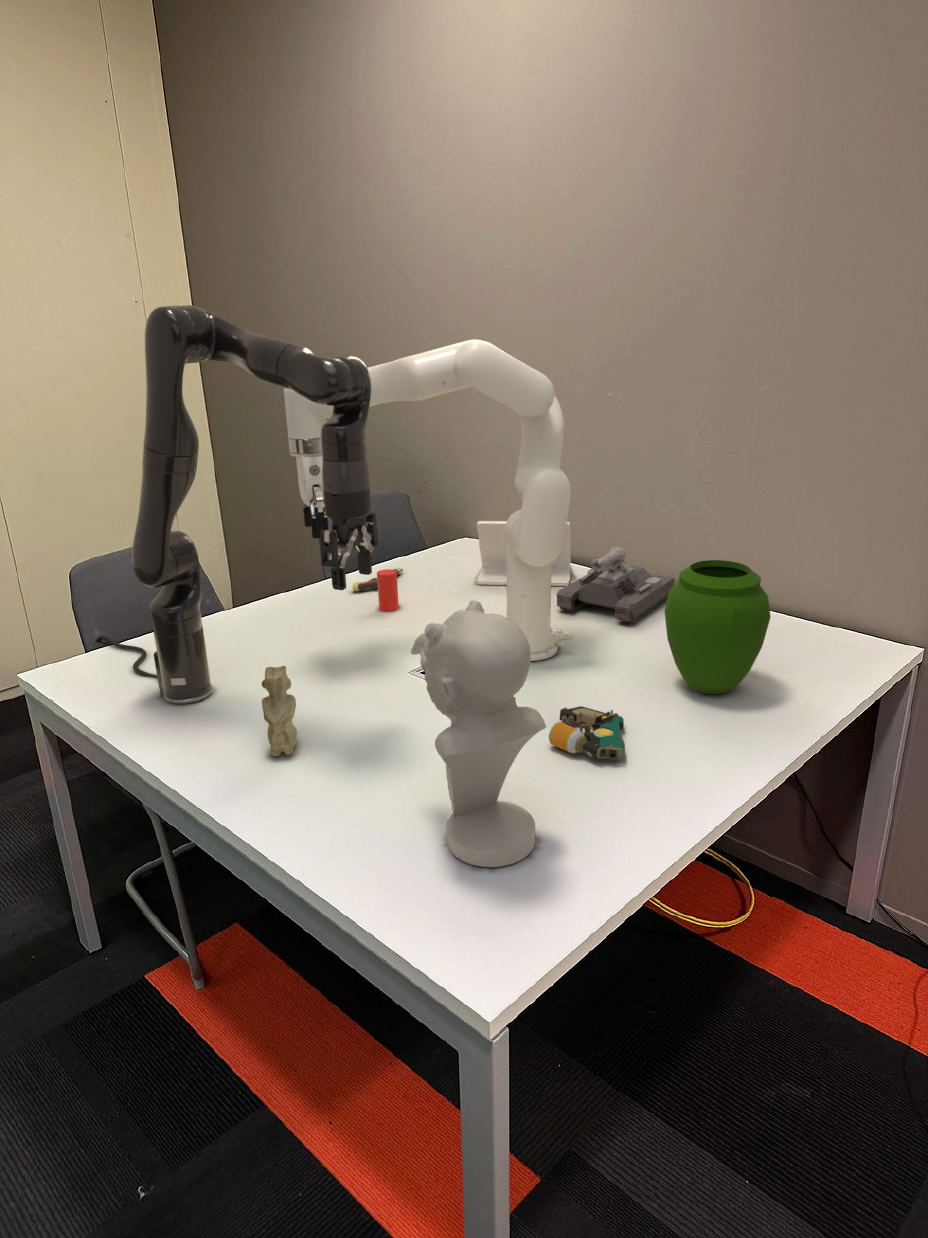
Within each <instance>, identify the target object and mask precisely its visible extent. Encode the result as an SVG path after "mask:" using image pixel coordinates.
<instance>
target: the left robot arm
mask: <svg viewBox="0 0 928 1238" xmlns="http://www.w3.org/2000/svg"><path fill="white" fill-rule="evenodd" d="M144 328H145V329H144V360H145V381H146V382H145V384H146V386H145V387H146V388H145V389H146V393H145V394H146V397H145V421H144V422H145V423H144V435H143V445H142V446H143V448H142V461H141V463H142V465H141V467H142V468H141V484H140V485H141V486H140V496H139V506H138V514H137V520H136V526H135V531H134V535H133V542H132V548H131V565H132V570H133V573H134V575H135V577H136V578H137V580H138V582H140V584H141V585H143V586H144V587H147V588H149V589H150V588H151V589H155V588H161V589H160V590H159V593H157V595H156V596H155V597H154V598H153V599H152V601H150V604H149V615H150V619H151V625H152V632H153V637H154V643H155V650H156V651H155V652H153V662H154V666H155V672H156V674H154V673H149V672H147V671H144V670H142V669H141V668H139V665H140V664H141V662H143V661H144V660H145V659H146V657H147V651H146V650H145V649H144V648H142V647H139V646H134V645H129V644H122V643H120V642H117V641H115V640H113V639H112V638H110V637H108V636H106V635H98V637H96V639H95V642H96V643H97V642H101V641H102V640H103V641H105V642H107V643H109V644H110V645H112V646H114V647H116V648H120V649H124V650H130V651H136V652H139V653H141V655H140V657H138V658H137V659H136V660H135V662H134V663H133V664H132V668H133V670H134V671H135V673H137V674H138V675H139V676H143V677H146V678H152V679H157V685H158V690H159V694H160V695H159V696H160V697H161V698H163V699H164V701H166V702H168V703H170V704H175V705H184V704H185V705H187V704H193V703H196V702H199V701H202V700H204V699H207V698H208V697H209V696H211V694H212V693H213V686H212V682H211V674H210V666H209V660H208V654H207V648H206V647H207V646H206V639H205V634H204V625H203V620H202V612H201V607H200V606H201V601H202V597H203V590H202V579H201V568H200V567H201V566H200V559H199V554H198V551H197V547H196V545H195V543H194V541H193V540H192V538H191V537H190V536H189V535H187V533H185V532H183V531H181V530H180V531H179V530H172V528H173V524H174V521H175V518H176V515H177V513H179V512H178V511H179V510H180V508H181V506H182V504H183V503H184V501H185V499H186V497H187V496H188V493H189V491H190V490H191V489H192V486H193V484H194V481H195V479H196V475H197V471H198V470H197V469H198V459H199V448H200V439H199V436H198V432H197V429H196V426H195V424H194V422H193V420H192V418H191V416H190V414H189V412H188V410H187V407H186V404H185V400H184V395H183V383H184V382H183V380H184V371H185V366H186V365H187V364H197V363H202V362H205V361H207V362H208V361H210V362H223V363H229V364H233V365H235V366H238V367H240V368H242V369H244V371H245V372H247V373H249V375H251V376H252V377H254V378H256V379H258V380H260V381H263V382H265V383H268V384H271V385H274V386H276V387H277V386H278V387H281V388H283V389H284V388H287V389H291V390H294V391H295V392H296V393H298V394H299V395H301V396H303V397H305V398H306V399H308V400H310V401H312V402H315V403H318V404H322V405H327V406H333V412H332V416H331V418H328V420H326V422H325V423H324V424H323V425H322V427H321V449H322V458H323V459H322V482H323V495H324V508H325V514H326V516H327V518H330V520H331V528H330V529H328V530H321V532H320V538H319V539H320V543H319V544H320V560H321V561H320V563H321V567H323V568H329V569H330V575H331V585H332V588H333V590H336V591H344V590H346V589H347V579H346V578H347V576H346V567H345V566H346V562H347V559H348V557H349V556H350V555H351V553H352V550H353V549H354V548H356V550H357V551H358V552H357V564H358V573H359V574H360V575H365V576H370V575H371V574H372V573H373V566H372V564H373V563H372V553H373V552H374V547H378V546H379V537H378V526H377V524H378V523H377V514H376V513H375V512H372V497H371V483H370V481H371V480H370V469H369V465H368V457H367V442H366V441H367V440H366V427H367V423H368V422H367V421H368V417H369V411H370V407H369V405H370V399H371V378H370V374H369V371H368V369H367V368H368V367H367V365H366V364H365V362H364V361H363V360H362V359H360V358H359V357H357V356H354V355H341V356H333V357H323V356H318V355H315V354H314V352H313V351H312V350H311V349H310V348H308V347H306V346H303V345H302V344H298V343H294V342H292V341H288V340H285V339H279V338H277V337H272V336H269V335H266V334H262V333H260V332H259V333H258V332H255V331H252V330H249V329H246V328H244V327H242V326H239V325H237V324H235V323H232V322H230V321H228V320H226V319H225V318H223V317H221V316H219V315H218V314H215V313H213V312H211V311H209V310H207V309H205V308H203V307H200V306H197V305H191V304H190V305H188V304H187V305H186V304H185V305H164V306H158V307H155V308H154V309H153V310H152V311H151V312H150V313H149V315H148V317H147V319H146V323H145V327H144ZM369 534H370V535H371V536H370V535H369ZM328 554H329V555H328ZM339 556H340V557H339Z"/></svg>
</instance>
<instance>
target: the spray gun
mask: <svg viewBox="0 0 928 1238" xmlns="http://www.w3.org/2000/svg"><path fill="white" fill-rule="evenodd" d="M566 722H568V723H570V724H571V725H574V726H576V727H579V729H578V728H575V727H573V726H571V725H569V724H566ZM624 727H625V723H624V717H622V716H621V715H619V713H618V712H614V710H613V709H610V711H606V712H603V711H600V710H597V709H593V708H589V707H586V706H582V705H581V706H576V707H571V708H567V707H563V708H561V709H560V710H559V722H557V723H555V724H554V725H553V726H552V727H550V730H549V732H548V741H549V744H550V745H552V746H554V747H557V748H558V749H561V750H563V751H565V752H568V753H570V754H577V753H581V754H582V753H583V752H587V753H589V754H591V755H593V756H595V757H596V758H597V759H599V760H601V759H607V760H608V759H609V760H618V761H619V760H620V761H622V760H624V759H625V757H626V743H625V741H624V738H623V731H622V730H623V729H624ZM583 729H584V731H583Z"/></svg>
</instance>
